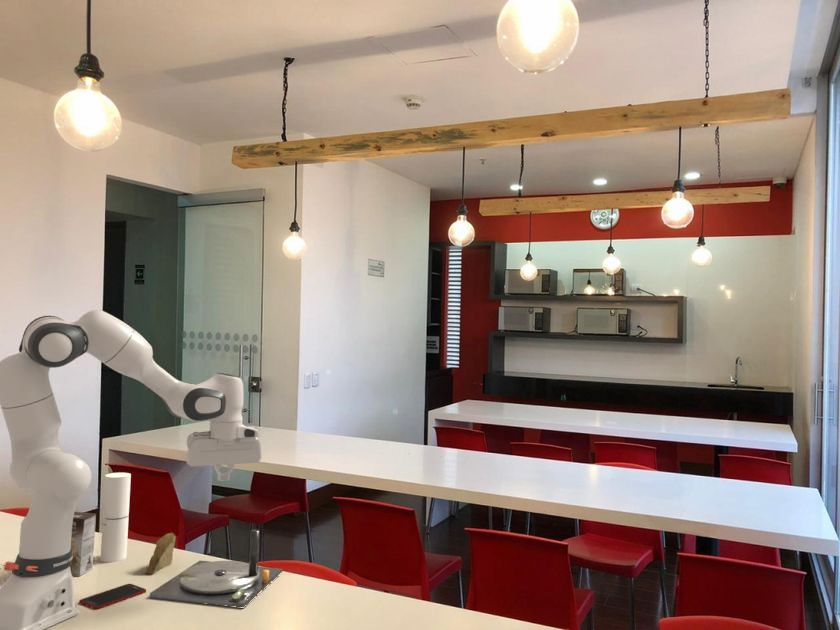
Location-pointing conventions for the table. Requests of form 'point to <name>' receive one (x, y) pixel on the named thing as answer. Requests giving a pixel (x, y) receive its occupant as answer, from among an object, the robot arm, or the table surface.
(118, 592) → the cell phone
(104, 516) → the cylindrical container
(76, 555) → the coffee box
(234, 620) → the table surface
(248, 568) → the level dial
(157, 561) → the rock
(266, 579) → the level mark
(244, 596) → the grey square base plate
